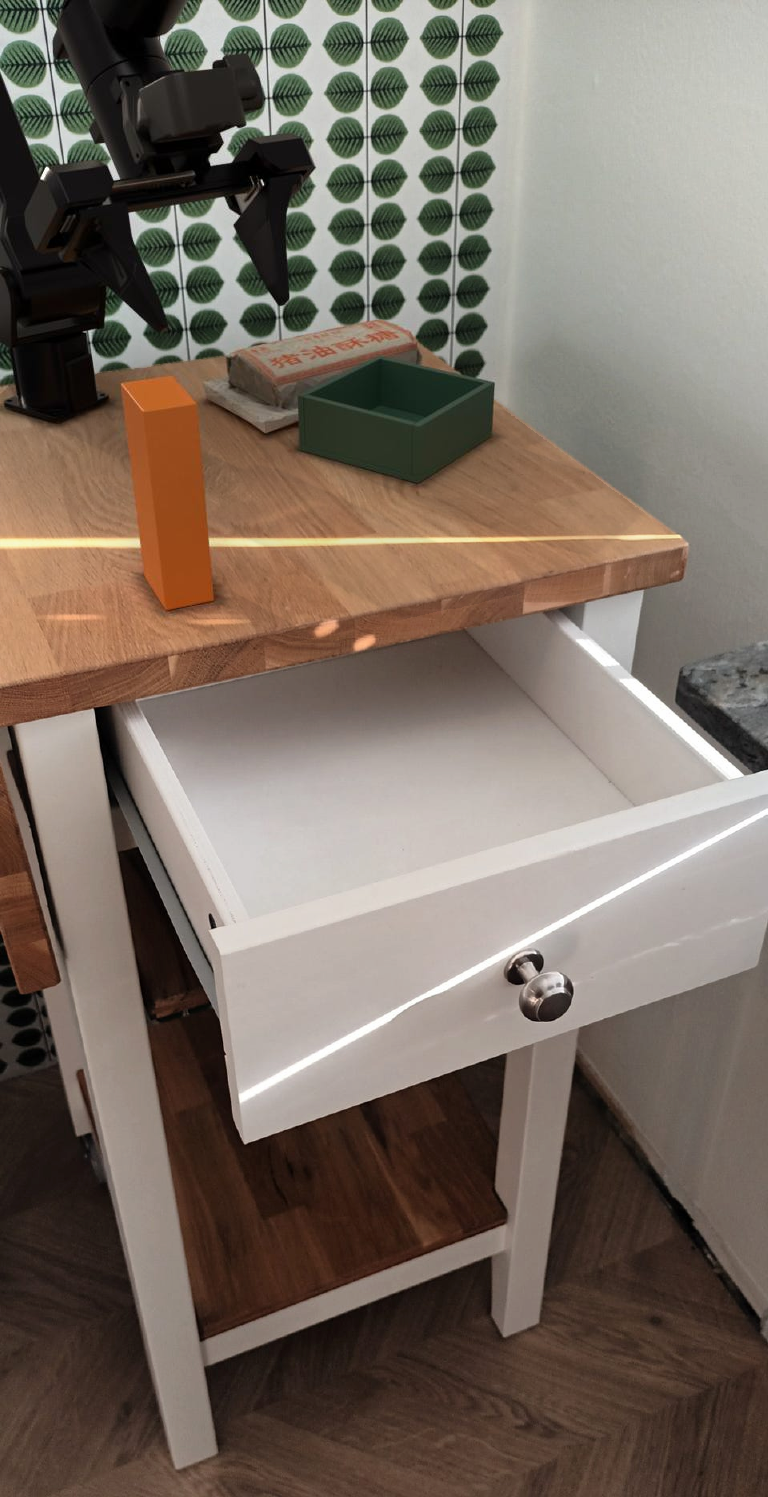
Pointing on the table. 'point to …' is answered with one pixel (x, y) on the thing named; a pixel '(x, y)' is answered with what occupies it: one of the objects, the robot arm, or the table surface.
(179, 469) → the tall orange pillar
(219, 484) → the table surface
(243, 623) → the table surface
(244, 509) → the table surface
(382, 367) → the green square open box
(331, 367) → the packaged product
